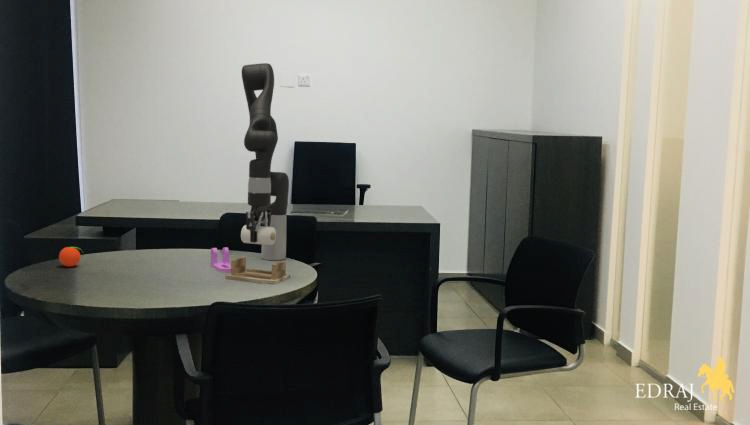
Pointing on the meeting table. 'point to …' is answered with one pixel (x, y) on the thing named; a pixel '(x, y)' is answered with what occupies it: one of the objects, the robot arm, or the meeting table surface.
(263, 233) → the roll
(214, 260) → the bracket
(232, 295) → the meeting table surface
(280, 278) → the cradle
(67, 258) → the clementine
